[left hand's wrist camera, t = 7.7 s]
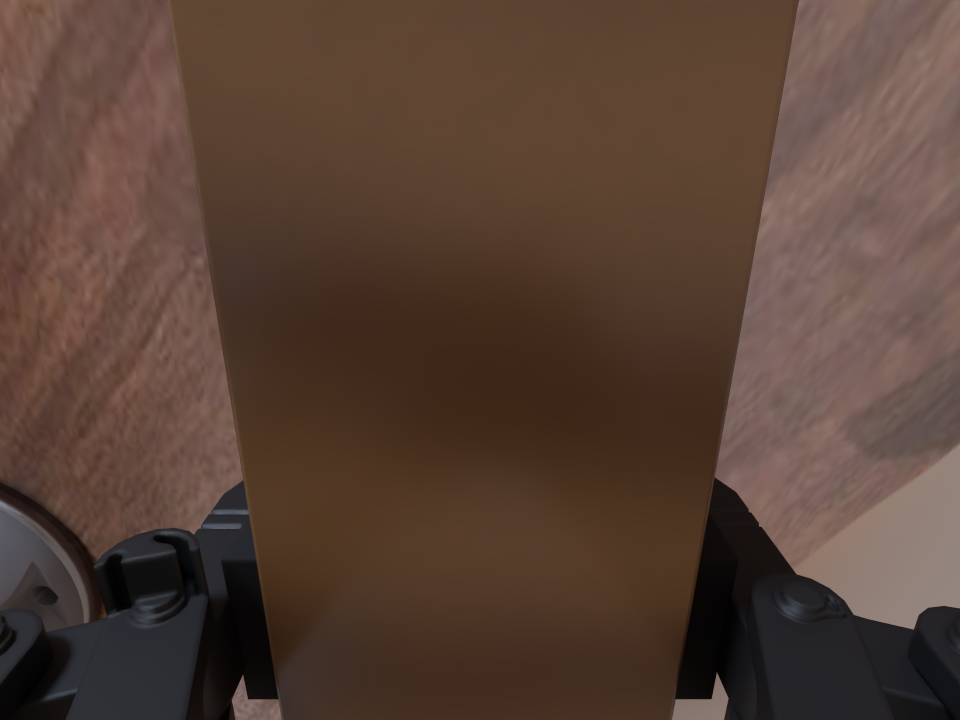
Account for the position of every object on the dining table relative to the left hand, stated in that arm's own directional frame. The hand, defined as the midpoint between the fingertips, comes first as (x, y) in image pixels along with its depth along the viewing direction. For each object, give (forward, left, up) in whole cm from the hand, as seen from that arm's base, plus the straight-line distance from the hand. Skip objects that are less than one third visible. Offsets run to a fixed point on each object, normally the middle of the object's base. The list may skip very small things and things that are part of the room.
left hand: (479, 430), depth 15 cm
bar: (+18, +13, -1) cm, 22 cm away
